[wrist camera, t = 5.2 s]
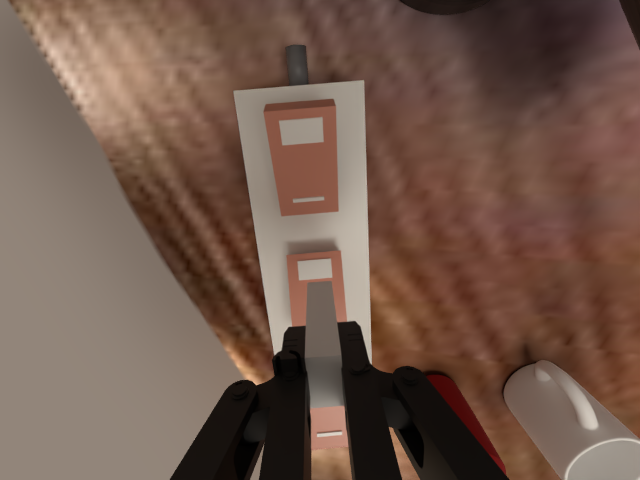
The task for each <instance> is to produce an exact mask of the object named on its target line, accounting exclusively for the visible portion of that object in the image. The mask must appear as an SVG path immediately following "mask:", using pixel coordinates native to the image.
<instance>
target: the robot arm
mask: <svg viewBox="0 0 640 480" xmlns="http://www.w3.org/2000/svg"><path fill="white" fill-rule="evenodd" d="M401 1H402V2H404V3H405V4H407V5H409V6H411V7H413V8H415V9H417V10H420V11H423V12H427V13H431V14H440V15H448V14H457V13H462V12H466V11H469V10H472V9H474V8H477V7H479V6H481V5H483V4H485V3H487V2H488V1H490V0H401ZM619 1H620V4H621V6H622V9H623V11H624V13H625V16H626V18H627V21H628V23H629V25H630V28H631V30H632V33H633V35H634V37H635V40H636V42H637V45H638V47H639V49H640V0H619ZM272 363H273V369H274V375H275V376H274V377H273V378H272V379H270V380H269V381H267V382H265V383H262V384H259V385H255V384H254V383H253V382H252V381H249V380H240V381H237V382H235V383H233V384H232V385H230V386H229V387H228V388H227V389H226V390H225V392H224V393H223V395H222V397H221V398H220V400H219V401H218V403H217V405H216V406H215V408H214V409H213V411H212V413H211V414H210V416H209V417H208V419H207V421H206V422H205V424H204V425H203V427H202V429H201V430H200V432H199V433H198V435H197V437H196V438H195V440H194V441H193V443H192V445H191V446H190V448H189V449H188V451H187V453H186V454H185V456H184V458H183V459H182V461H181V463H180V464H179V466H178V467H177V469H176V470H175V472H174V474H173V475H172V477H171V478H170V480H250V478H251V475H252V473H253V470H254V467H255V465H256V463H257V460H258V458H259V455H260V452H261V450H262V447H263V445H264V450H263V456H262V463H261V470H260V476H259V480H311V413H310V407H311V408H321V407H334V406H344V407H345V422H346V430H347V437H348V446H349V455H350V464H351V473H352V480H402V477H401V474H400V470H399V466H398V462H397V458H396V454H395V450H394V446H393V443H392V439H391V435H390V431H389V427H392V428H393V429H394V432H395V434H396V436H397V437H398V439H399V441H400V443H401V445H402V447H403V448H404V450H405V452H406V454H407V456H408V458H409V460H410V461H411V463H412V465H413V467H414V469H415V471H416V472H417V474H418V476H419V478H420V480H509V478H508V477H507V476H506V475H505V474H504V472H503V471H502V470H501V469H500V467H499V466H498V465H497V464H496V462H495V461H494V460H493V459H492V457H491V456H490V455H489V454H488V452H487V451H486V450H485V449H484V448H483V446H482V445H481V444H480V443H479V441H478V440H477V439H476V438H475V436H474V435H473V434H472V433H471V431H470V430H469V429H468V428H467V426H466V425H465V424H464V423H463V422H462V420H461V419H460V418H459V417H458V415H457V414H456V413H455V412H454V410H453V409H452V408H451V407H450V405H449V404H448V403H447V402H446V400H445V399H444V398H443V397H442V395H441V394H440V393H439V392H438V391H437V389H436V388H435V387H434V386H433V384H432V383H431V382H430V381H429V379H428V378H427V377H426V376H425V374H424V373H422V372H421V371H420V370H419V369H416V368H414V367H410V366H403V367H400V368H397V369H396V370H395V371H394V372H393V374H392V373H386V372H382V371H380V370H378V369H376V368H374V367H373V366H372V365H371V363H370V361H369V358H368V354H367V350H366V346H365V342H364V338H363V335H362V330H361V326H360V325H359V324H358V323H357V322H356V321H348V322H337V318H336V310H335V303H334V295H333V288H332V281H322V282H310V283H307V306H306V326H294V327H288V329H287V330H286V331H285V333H284V336H283V343H282V350H281V351H279V352H278V353H277V354H276V355H275V356H274V357H273V359H272ZM264 442H265V443H264Z"/></svg>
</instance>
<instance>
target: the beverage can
mask: <svg viewBox="0 0 640 480" xmlns="http://www.w3.org/2000/svg"><path fill="white" fill-rule="evenodd" d="M426 377H427V378H428V379H429V381H430V382H431V383H432V384H433V386H434V387H435V388H436V389H437V391H438V392H439V393H440V394H441V395H442V397H443V398H444V399H445V400H446V402H447V403H448V404H449V405H450V407H451V408H452V409H453V410H454V412H455V413H456V414H457V415H458V417H459V418H460V419H461V420H462V422H463V423H464V424H465V425H466V426H467V428H468V429H469V430H470V431H471V433H472V434H473V435H474V436H475V438H476V439H477V440H478V441H479V443H480V444H481V445H482V446H483V448H484V449H485V450H486V451H487V452H488V454H489V455H490V456H491V457H492V459H493V460H494V461H495V462H496V464H497V465H498V466H499V467H500V469H501V470H502V471H503V472H504V474H505V475H506V470H505V466H504V464H503V462H502V460H501V459H500V457H499V455H498V453H497V452H496V450H495V448H494V447H493V445H492V443H491V441H490V440H489V438H488V436H487V435H486V433H485V431H484V430H483V428H482V426H481V425H480V423H479V421H478V420H477V418H476V416H475V415H474V413H473V411H472V410H471V408H470V406H469V405H468V403H467V402H466V400H465V398H464V397H463V395H462V393H461V392H460V390H459V389H458V387H457V385H456V384H455V383H454V381H452V380H451V379H450V378H448V377H446V376H442V375H428V376H426Z"/></svg>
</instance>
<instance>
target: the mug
mask: <svg viewBox="0 0 640 480" xmlns="http://www.w3.org/2000/svg"><path fill="white" fill-rule="evenodd" d="M504 400H505V402H506V404H507V406H508V408H509V409H510V411H511V412H512V414H513V415H514V416H515V418H516V419H517V420H518V422H519V423H520V424H521V426H522V427H523V429H524V430H525V431H526V433H527V434H528V435H529V437H530V438H531V439H532V441H533V442H534V443H535V445H536V446H537V447H538V449H539V450H540V452H541V453H542V454H543V456H544V457H545V458H546V460H547V461H548V462H549V464H550V465H551V466H552V468H553V469H554V470H555V472H556V473H557V475H558V476H559V477H560V479H561V480H640V439H639V438H638V437H637V436H636V435H634V434H633V433H632V432H631V431H630V430H629V429H628V428H627V427H626V426H625V425H623V424H622V423H621V422H620V421H619V420H618V419H617V418H616V417H615V416H614V415H612V414H611V413H610V412H609V411H608V410H607V409H606V408H605V407H604V406H603V405H601V404H600V403H599V402H598V401H597V400H596V399H595V398H594V397H593V396H592V395H590V394H589V393H588V392H587V391H586V390H585V389H584V388H583V387H582V386H581V385H580V384H578V383H577V382H576V381H575V380H574V379H573V378H572V377H571V376H570V375H568V374H567V373H566V372H565V371H563V370H562V369H561V368H559V367H558V366H556V365H555V364H553V363H551V362H549V361H546V360H540V361H538V362H537V363H535V364H531V365H527V366H525V367H523V368H521V369H519V370H518V371H516V372H515V373H514V374H513V375H512V376H511V377H510V378H509V379H508V381H507V383H506V385H505V388H504Z"/></svg>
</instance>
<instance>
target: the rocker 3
mask: <svg viewBox="0 0 640 480" xmlns="http://www.w3.org/2000/svg"><path fill="white" fill-rule="evenodd" d="M310 413H311V450H317V449H328V448H338V447H349V446H348V437H347V430H346V422H345V407H344V406H334V407H321V408H311V407H310Z"/></svg>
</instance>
